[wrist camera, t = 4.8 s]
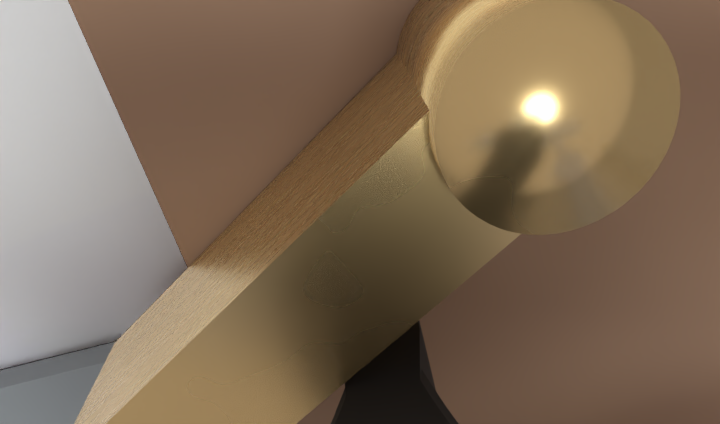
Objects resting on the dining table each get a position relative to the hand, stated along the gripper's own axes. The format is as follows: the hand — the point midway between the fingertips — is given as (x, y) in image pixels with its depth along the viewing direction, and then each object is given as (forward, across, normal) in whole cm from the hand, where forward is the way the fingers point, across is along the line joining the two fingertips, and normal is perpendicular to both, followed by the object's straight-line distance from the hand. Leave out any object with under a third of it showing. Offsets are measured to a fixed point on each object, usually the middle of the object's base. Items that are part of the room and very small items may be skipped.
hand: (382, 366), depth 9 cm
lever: (0, 0, -2) cm, 2 cm away
